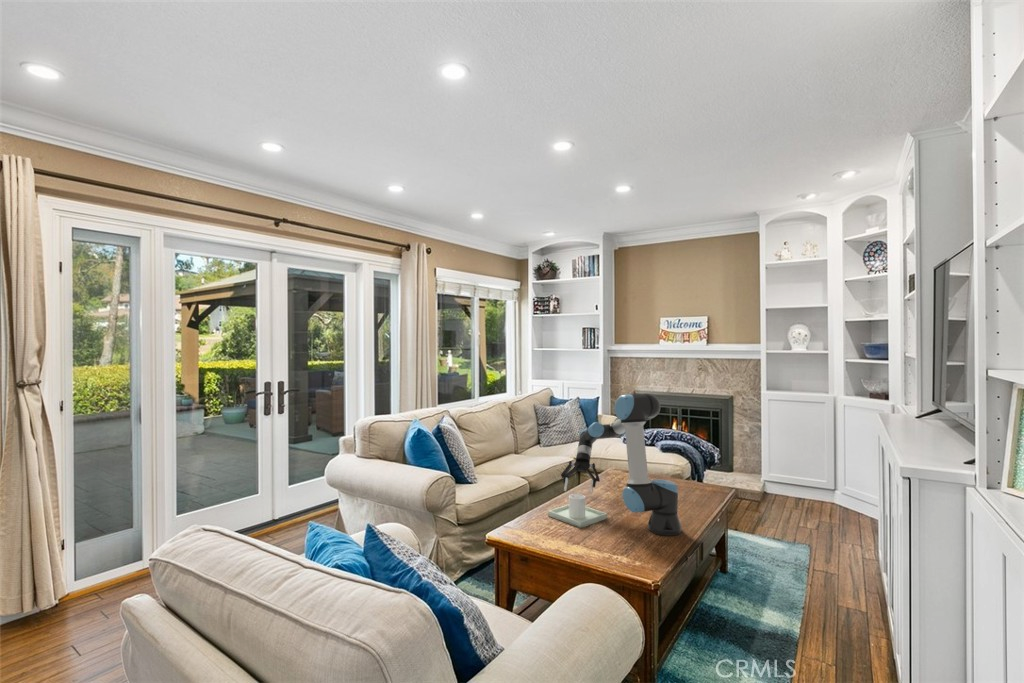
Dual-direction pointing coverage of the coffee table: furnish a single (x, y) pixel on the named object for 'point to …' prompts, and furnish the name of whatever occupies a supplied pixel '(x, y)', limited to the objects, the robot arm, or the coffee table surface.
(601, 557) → the coffee table surface
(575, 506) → the cup
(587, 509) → the sage tray
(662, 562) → the coffee table surface
